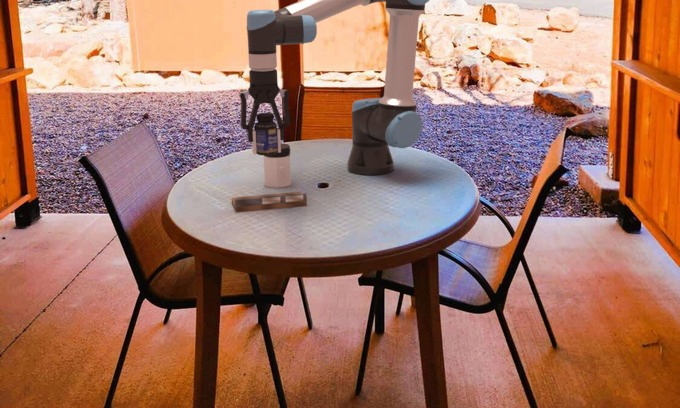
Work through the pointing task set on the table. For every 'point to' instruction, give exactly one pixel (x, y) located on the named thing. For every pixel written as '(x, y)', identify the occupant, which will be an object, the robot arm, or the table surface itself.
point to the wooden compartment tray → (269, 201)
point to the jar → (278, 168)
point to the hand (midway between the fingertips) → (266, 152)
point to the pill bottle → (266, 134)
